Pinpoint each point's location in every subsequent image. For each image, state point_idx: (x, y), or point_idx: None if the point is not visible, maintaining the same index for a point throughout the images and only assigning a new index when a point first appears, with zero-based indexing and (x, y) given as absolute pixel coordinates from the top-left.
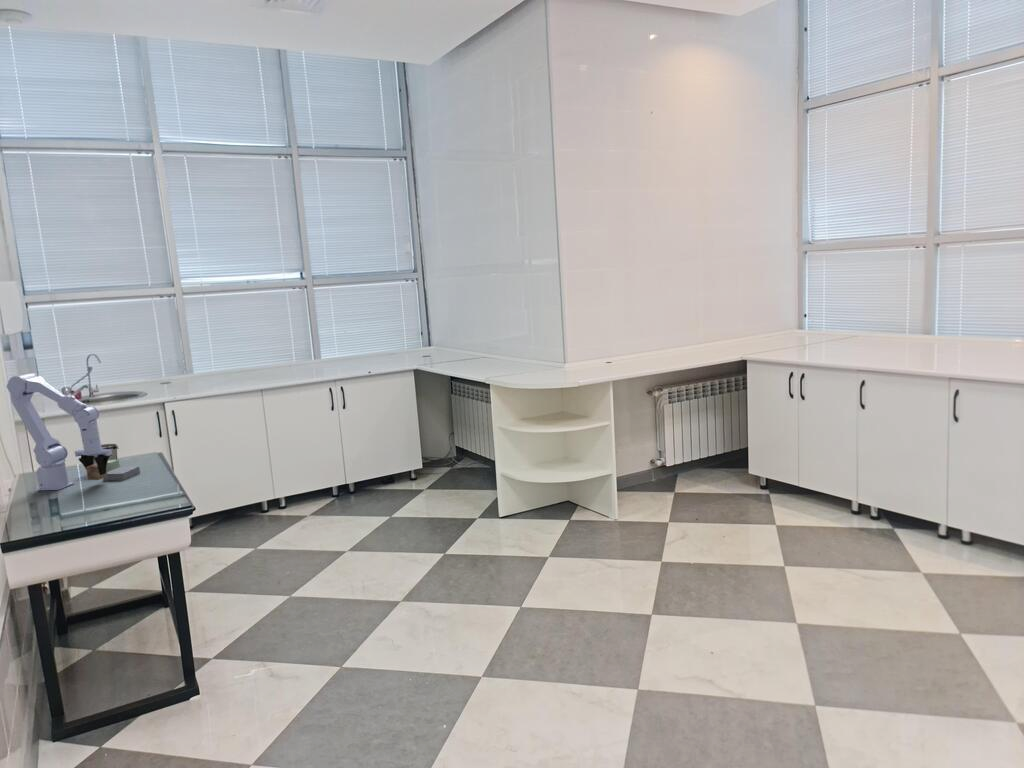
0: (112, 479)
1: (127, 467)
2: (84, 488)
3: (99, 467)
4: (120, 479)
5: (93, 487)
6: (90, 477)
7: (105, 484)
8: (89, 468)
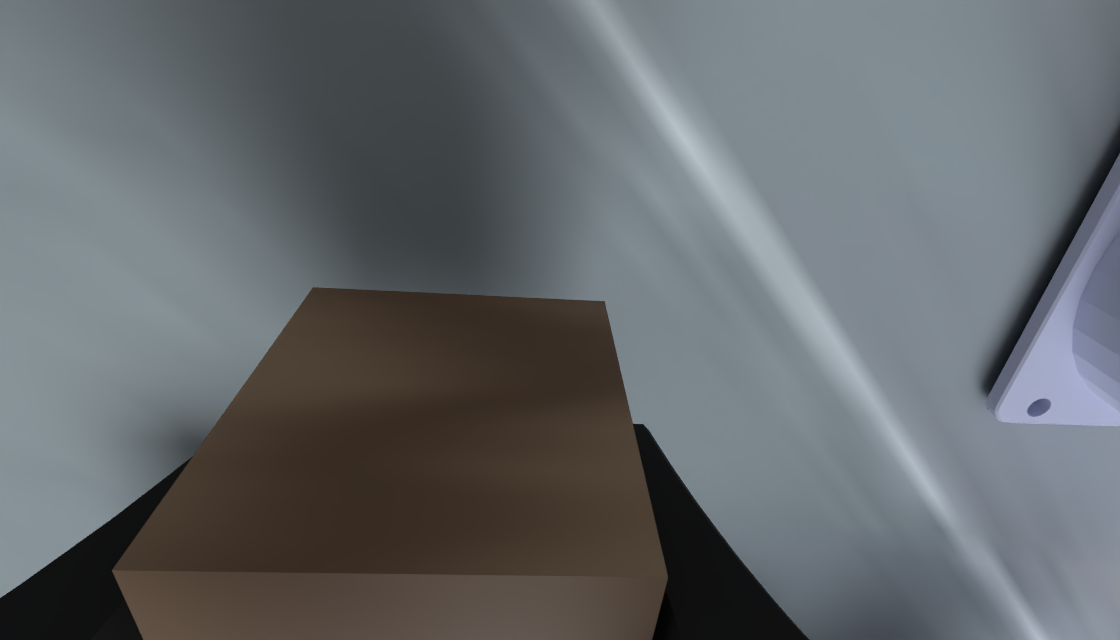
0: None
1: None
2: (611, 119)
3: (91, 570)
4: None
5: (441, 164)
6: (534, 328)
7: None
8: (502, 516)
